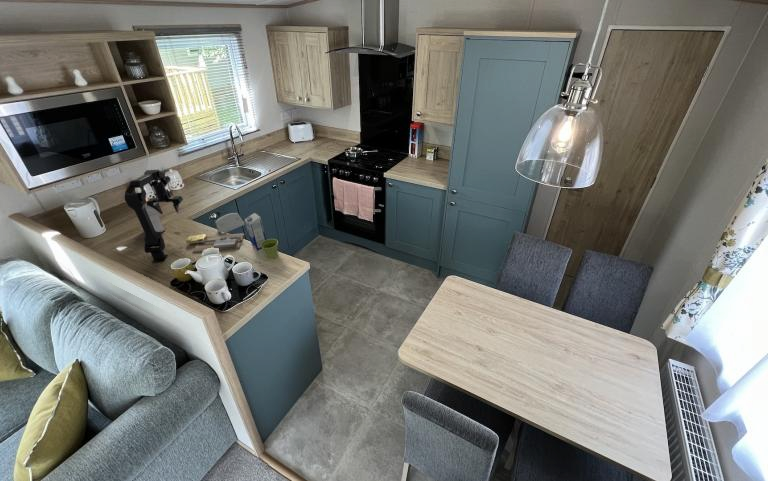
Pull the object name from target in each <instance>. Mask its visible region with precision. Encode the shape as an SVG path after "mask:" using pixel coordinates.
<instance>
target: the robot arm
mask: <svg viewBox="0 0 768 481" xmlns="http://www.w3.org/2000/svg"><path fill="white" fill-rule="evenodd" d="M169 183H171V178H170V176H168V175H167V174H165V173H163V172H162V171H160V169H147V170H145V172H144V173H143V175H141V176H139V177H137V178H136V179H133V180H131V181H129V186H128V187H127V189H125V192H124V201H125V203H126V204H127V206H128V207H129V208H131V210H133V211H134V212H135V214H136V215H135V216H136V217H137V218H138V219H137V220H138V221H139V223H140V225H141V228H142V230H143V232H144V238H143V241H144V252H145V253H146V254H150V255H151V257H152V259H153V260H152V261H151V262H152V264H153V263H163V262H165V260H166V259H167V258H168V257H169V254H165V252H164V250H165V249H166V244H165V239H164V237H163V235H162V232H156V231H155V229H154V227H153V224H152V222H151V220H150V218H149V215H148V213H147V211H146V208H145V206H146V204H147V206H150V207H152V208H154V209H155V210H156V211H157V213H159V214H161V215H163V210H162V208H161V205H160V204H161V203H172V205H173V208H174V210H175V213H177V214H178V213H179V211H180V210H179V208H180V207H179V206H180V204H181V203H182V201H183V200H184V198H183V196H182V195H174V193H173V190H168V189H166V187H167V185H169ZM147 184H149V185H150V187H152V189H153V190H154V196H156V197H151V198H148V201H147V202H146V198H147V191H146V190H145V187H144V186H146V185H147ZM135 189H140V192H134V191H135ZM173 196H174V197H173Z"/></svg>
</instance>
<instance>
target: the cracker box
mask: <svg viewBox="0 0 768 481" xmlns="http://www.w3.org/2000/svg"><path fill="white" fill-rule="evenodd" d="M148 200H149V198H147V197H146V202H147V201H148ZM145 208H146V211H147V213H148V215H149V218H150V220H151V222H152V224H153V227H154V229H155V231H156V232H160V233H162V232H164V231H166V228H165V226H164V225H163V222H162V220H161V218H160V215H159V214H158V213H159V212H158V211H157V210H155V209H154V208H152V207H150V206H147V204H146V206H145Z"/></svg>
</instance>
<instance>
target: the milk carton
mask: <svg viewBox="0 0 768 481" xmlns="http://www.w3.org/2000/svg"><path fill="white" fill-rule="evenodd" d="M244 224H245V226H246V229H247V233H248V236H249V240H250V243H251V246H252V247H253V248H254V249H255V250H257V251H259V250H263V248H262V247H261V243H262V242H263V241H265V240H267V238H266V233H265V229H264V226H263V222H262V218H261V216H259V214H257V213H255V212H253V213H252V214H250V215H249V216H247V217H246V218H245V219H244Z"/></svg>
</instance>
